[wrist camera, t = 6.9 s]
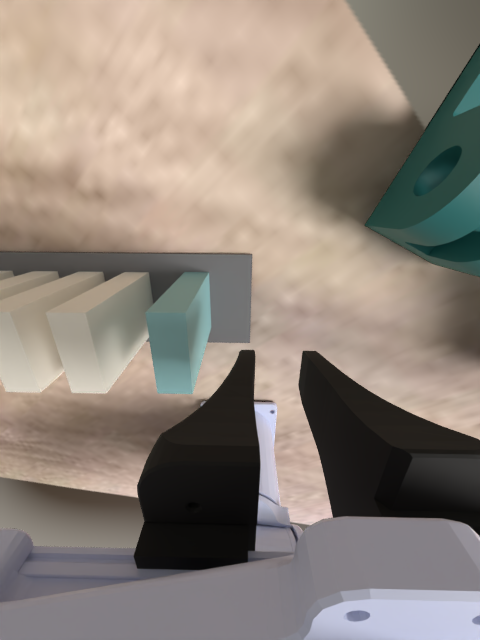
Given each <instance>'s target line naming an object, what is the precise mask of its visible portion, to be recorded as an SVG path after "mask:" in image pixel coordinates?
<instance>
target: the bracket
mask: <svg viewBox="0 0 480 640" xmlns="http://www.w3.org/2000/svg"><path fill="white" fill-rule="evenodd" d="M365 226H367V227H368V228H370V229H372V230H374V231H375V232H377V233H379V234H381V235H382V236H384V237H386V238H388V239H390V240H391V241H393V242H395V243H397V244H398V245H400V246H402V247H404V248H405V249H407V250H409V251H411V252H413V253H414V254H416V255H418V256H420V257H421V258H423V259H425V260H427V261H429V262H430V263H432V264H435V265H439V266H442V267H446V268H449V269H453V270H456V271H460V272H464V273H467V274H471V275H474V276H478V277H480V44H479V46H478V47H477V49H476V50H475V52H474V53H473V55H472V56H471V58H470V60H469V61H468V63H467V64H466V66H465V67H464V69H463V70H462V72H461V74H460V75H459V77H458V78H457V80H456V81H455V83H454V84H453V86H452V88H451V89H450V91H449V92H448V94H447V95H446V97H445V99H444V100H443V102H442V104H441V105H440V107H439V108H438V110H437V111H436V113H435V114H434V116H433V118H432V119H431V121H430V122H429V124H428V125H427V127H426V128H425V132H424V133H423V135H422V137H421V138H420V140H419V141H418V143H417V144H416V146H415V148H414V149H413V151H412V152H411V154H410V155H409V157H408V158H407V160H406V162H405V163H404V165H403V166H402V168H401V169H400V171H399V173H398V174H397V176H396V177H395V179H394V180H393V182H392V183H391V185H390V187H389V188H388V190H387V191H386V193H385V194H384V196H383V198H382V199H381V201H380V202H379V204H378V205H377V207H376V208H375V210H374V212H373V213H372V215H371V216H370V218H369V219H368V221H367V223H366V224H365Z"/></svg>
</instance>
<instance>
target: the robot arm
mask: <svg viewBox="0 0 480 640" xmlns="http://www.w3.org/2000/svg"><path fill="white" fill-rule="evenodd" d="M254 379H255V351H254V350H241V351H240V352H239V356H238V358H237V361H236V363H235V365H234V366H233V368H232V370H231V371H230V373H229V375H228V376H227V378H226V379H225V380H224V382H223V383H222V385H221V386H220V387H219V388H218V389H217V391H216V392H215V393H214V394H213V395H212V396H211V397H210V398H209V399H208V400H207V401H203V402H202V403H201V405H200V408H199V409H198V410H196V411H195V412H194V413H192V414H191V415H190V416H189V417H187V418H186V419H185V420H183V421H182V422H180V423H179V424H177V425H175V426H174V427H172V428H171V429H169V430H167V431H166V432H164V433H162V434H161V435H160V437H159V438H158V440H157V442H156V443H155V445H154V447H153V449H152V451H151V453H150V454H149V457H148V459H147V461H146V463H145V466H144V469H143V471H142V474H141V477H140V480H139V482H138V485H137V491H138V497H139V501H140V505H141V509H142V513H143V517H144V521H145V522H144V525H143V528H142V531H141V534H140V537H139V541H138V544H137V547H136V548H102V547H58V546H33V542H32V539H31V537H30V536H29V534H27V533H26V532H25V531H23V530H20V529H15V528H0V640H480V440H479V439H476V438H474V437H471V436H468V435H465V434H462V433H459V432H457V431H454V430H451V429H448V428H445V427H442V426H440V425H437V424H435V423H433V422H430V421H428V420H425V419H423V418H420V417H418V416H416V415H414V414H412V413H409V412H407V411H405V410H403V409H401V408H399V407H397V406H395V405H393V404H391V403H389V402H387V401H385V400H384V399H382V398H380V397H378V396H377V395H375V394H373V393H372V392H370V391H368V390H367V389H365V388H364V387H362V386H361V385H359V384H358V383H356V382H355V381H353V380H352V379H351V378H349V377H348V376H347V375H345V374H344V373H343V372H341V371H340V370H339V369H337V368H336V367H335V366H334V365H332V364H331V363H330V362H329V361H328V360H326V359H325V358H324V357H323V356H321V355H320V354H319V353H318V352H316V351H303V354H302V362H301V369H300V377H299V390H300V396H301V400H302V405H303V408H304V411H305V414H306V416H307V419H308V422H309V425H310V428H311V431H312V434H313V437H314V440H315V442H316V445H317V449H318V452H319V455H320V460H321V464H322V468H323V472H324V477H325V481H326V486H327V490H328V495H329V500H330V504H331V509H332V514H333V518H328V519H322V520H320V521H318V522H316V523H314V524H312V525H310V526H308V527H307V528H306V529H305V531H304V532H303V531H302V529H301V528H300V527H299V526H297V525H290V518H289V512H288V508H287V507H282V506H281V504H280V496H279V488H278V480H277V472H276V464H275V456H274V439H275V427H276V415H277V404H276V403H274V402H254ZM271 410H273V411H271Z"/></svg>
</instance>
